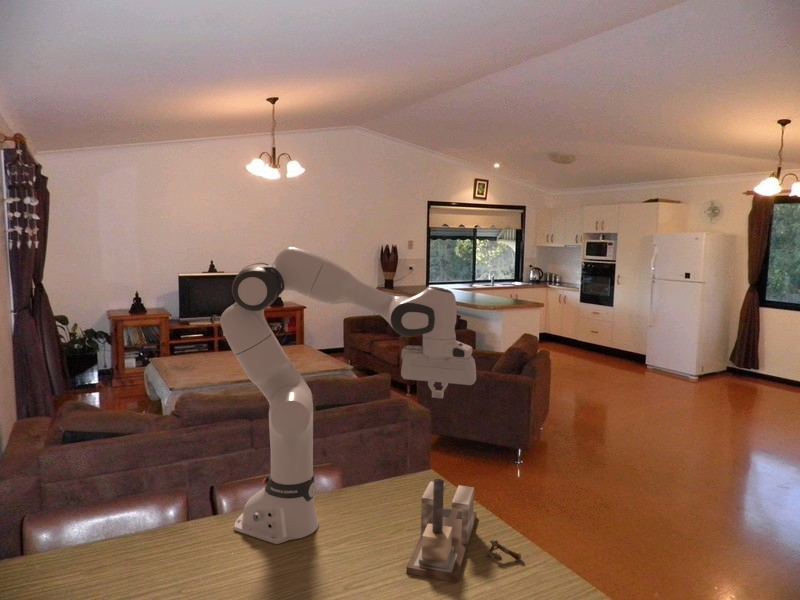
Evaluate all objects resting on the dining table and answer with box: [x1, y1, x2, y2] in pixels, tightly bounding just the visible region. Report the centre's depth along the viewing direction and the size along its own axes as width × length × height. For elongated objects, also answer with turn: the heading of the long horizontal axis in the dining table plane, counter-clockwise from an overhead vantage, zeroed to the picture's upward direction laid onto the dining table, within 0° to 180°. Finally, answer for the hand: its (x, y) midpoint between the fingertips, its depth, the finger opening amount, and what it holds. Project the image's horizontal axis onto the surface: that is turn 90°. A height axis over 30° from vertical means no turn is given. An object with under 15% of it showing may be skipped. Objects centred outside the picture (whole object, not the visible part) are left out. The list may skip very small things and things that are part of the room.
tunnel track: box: [405, 480, 478, 584], centre depth 143 cm, size 12×31×12 cm, turn 164°
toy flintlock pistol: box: [486, 539, 522, 563], centre depth 137 cm, size 2×8×4 cm, turn 79°
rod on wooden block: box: [419, 478, 454, 569], centre depth 133 cm, size 7×8×19 cm
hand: (437, 397), depth 151 cm, fingers closed
